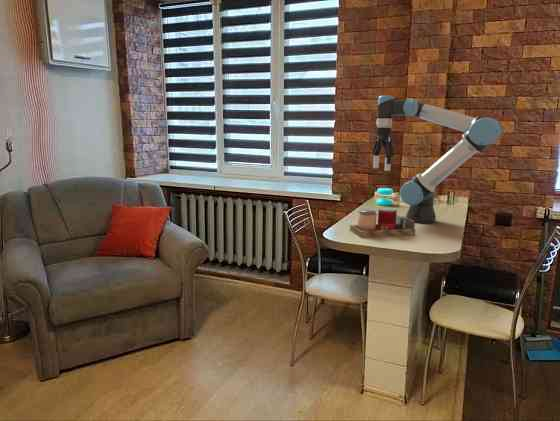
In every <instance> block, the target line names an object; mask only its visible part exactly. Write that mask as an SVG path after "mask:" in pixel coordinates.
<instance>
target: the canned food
mask: <svg viewBox="0 0 560 421" xmlns="http://www.w3.org/2000/svg"><path fill="white" fill-rule="evenodd" d="M377 211H378V212H377V224H378V227H377V230H395V229H396V215H398V214H397V212H398V210H397V208H395V207H388V206H385V207H384V206H383V207H382V206H381V207H379V208H378V210H377Z"/></svg>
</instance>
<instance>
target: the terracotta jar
mask: <svg viewBox="0 0 560 421" xmlns="http://www.w3.org/2000/svg"><path fill="white" fill-rule="evenodd" d="M376 212H377V211H376V210H374V209H366V208H365V209H359V211H358V213H357V215H358V216H357V225H358V229H360V230H361V231H369V230H376V224H377V216H378V213H376Z"/></svg>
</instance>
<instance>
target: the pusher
mask: <svg viewBox="0 0 560 421" xmlns="http://www.w3.org/2000/svg"><path fill="white" fill-rule="evenodd" d="M402 217H403V216H400V215H398V214H397V215H396V229H395V230H397V229H405V226H407V223H406V219H405V218H402Z"/></svg>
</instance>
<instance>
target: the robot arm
mask: <svg viewBox="0 0 560 421" xmlns="http://www.w3.org/2000/svg"><path fill="white" fill-rule="evenodd" d="M376 107H377V110H376V111H377V112H376V120H375V123H376V127H377V128H376V130H375V135H376V136H375V140H374V144H373V148H372V151H371V154H372V156H373V165H372V166H373V169H379V167H380V152H381V150H382V148H383V149H384V150H383V151H384V153H385V156H384V171H385V172H387V171H388V172H389V171H391V165H392V164H391V162H392V157H394V149H393V148H394V147H393V143H392V142H393V141H392V140H393V138H392V137H390V136H391V135H392V127H393V116H410V117H413V118H417V119H421V120H424V121H427V122H431V123H433V124H438V125H440V126H443V127H447V128H449V129H453V130H457V131H460V132H462V134H461V135H462V138H461V139H460V141H458V142H457V143H456V144H455V145H454V146H453V147H451V149H449V150H448V151H446V153H445V154H443V155H442V156H441V157H440V158H439V159H438V160H436V162H434V163H433V164H432V165H431V166H430V167H429V168H427V169H426V170H425V171H424V172H423V173H417V174H416V175H415V176H412V178H411V179H410V180H409V181H407V182H405V183H403V185H402V186H401V187H400V190H399V195H400V199H401V200H402V202H403V203H405V204H406V205H408V206H409V207H408V209H407V213H406V215H405V217H406V218H408V219H411V220H413V221H415V224H416V223H419V224H432V223H433V224H434V223H436V220H437V216H436V212H435V208H434V203H435V192H436V187H437V186H438V185H439V184H440V183H441V182H443V181H444V180H445V179H447V177H449V176H450V175H451V174H452V173H453V172H455V171H456V170H457V169H458V168H459V167H460V166H462V165H463V164H464V163H465V162H467V161H468V159H470V158H472V156H474V155H475V154H478V153H479V154H482V152H484V151H485V150H486V149H487V148H489V146H491V145H492V144H495V143H497V142H499V141H500V140H501V139H502V137H503V135H504V132H505V131H504V130H505V129H504V125H503V123H502V122H501V121H500V120H499V119H496V118H491V117H488V116H487V117H482V116H477V117H473V116H469V115H466V114H462V113H460V112H455V111H452V110H449V109H445V108H442V107H438V106H433V105H432V104H431V105H430V104H427V103H424V102H421V101H418V100H417V99H414V98H408V99H406V98H405V99H404V98H403V99H395V98H394V96H393V95H380V96H378V99H377V106H376Z"/></svg>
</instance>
